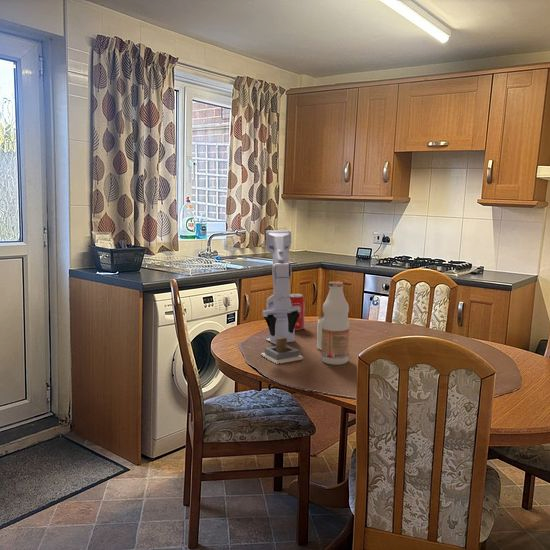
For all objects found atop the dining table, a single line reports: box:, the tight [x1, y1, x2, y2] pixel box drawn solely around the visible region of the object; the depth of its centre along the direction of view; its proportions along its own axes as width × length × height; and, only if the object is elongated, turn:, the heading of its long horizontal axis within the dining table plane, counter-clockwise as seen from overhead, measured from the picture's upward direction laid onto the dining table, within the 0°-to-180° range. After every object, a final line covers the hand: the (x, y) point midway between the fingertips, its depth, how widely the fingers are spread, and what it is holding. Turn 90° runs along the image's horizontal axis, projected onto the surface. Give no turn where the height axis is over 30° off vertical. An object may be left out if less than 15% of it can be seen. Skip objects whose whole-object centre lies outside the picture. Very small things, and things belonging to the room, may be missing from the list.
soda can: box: [290, 293, 306, 332], centre depth 232 cm, size 8×8×15 cm
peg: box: [275, 337, 288, 353], centre depth 192 cm, size 4×4×6 cm
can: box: [316, 315, 324, 351], centre depth 203 cm, size 6×6×12 cm
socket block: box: [260, 344, 304, 365], centre depth 193 cm, size 11×11×3 cm
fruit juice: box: [321, 281, 350, 366], centre depth 187 cm, size 9×9×28 cm
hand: (281, 333), depth 192 cm, fingers open, 7 cm apart
